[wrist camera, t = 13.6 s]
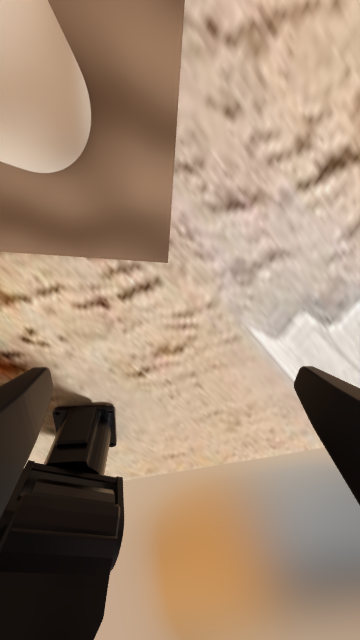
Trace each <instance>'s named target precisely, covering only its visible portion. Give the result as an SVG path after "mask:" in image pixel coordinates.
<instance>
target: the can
mask: <svg viewBox="0 0 360 640" xmlns="http://www.w3.org/2000/svg"><path fill="white" fill-rule="evenodd" d="M90 127H91V106H90V99H89V94H88V90H87V87H86V83H85V81H84V78H83V75H82V73H81V70H80V68H79V66H78V63H77V61H76V59H75V57H74V55H73V53H72V50H71V48H70V46H69V44H68V42H67V40H66V38H65V36H64V33H63V31H62V29H61V27H60V25H59V23H58V21H57V19H56V17H55V15H54V12H53V10H52V8H51V6H50V4H49V2H48V0H0V161H1V162H4V163H6V164H9V165H12V166H15V167H18V168H21V169H24V170H28V171H31V172H37V173H52V172H57V171H60V170H63V169H65V168H67V167H68V166H70V165H71V164H72V163H74V162H75V161H76V160H77V158H78V157H79V156H80V155H81V153H82V152H83V150H84V148H85V146H86V143H87V141H88V137H89V133H90Z"/></svg>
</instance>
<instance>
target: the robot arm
mask: <svg viewBox="0 0 360 640" xmlns="http://www.w3.org/2000/svg"><path fill="white" fill-rule="evenodd" d="M294 389H295V391H296V393H297V395H298V397H299V399H300V401H301V404H302V406H303V408H304V410H305V412H306V414H307V416H308V418H309V420H310V422H311V424H312V426H313V428H314V430H315V431H316V433H317V435H318V436H319V438H320V440H321V441H322V443H323V445H324V446H325V448H326V450H327V451H328V453H329V455H330V456H331V458H332V460H333V461H334V463H335V465H336V466H337V468H338V470H339V471H340V473H341V475H342V476H343V478H344V480H345V482H346V483H347V485H348V486H349V488H350V490H351V492H352V493H353V495H354V496H355V498H356V500H357V502H358V503H359V505H360V388H358V387H356V386H353V385H351V384H349V383H347V382H345V381H343V380H341V379H339V378H336V377H334V376H332V375H330V374H328V373H326V372H324V371H321V370H319V369H317V368H315V367H312V366H303V367H301V368H300V369H299V372H298V374H297V377H296V379H295V382H294ZM52 394H53V383H52V378H51V373H50V370H49V368H47V367H34V368H32V369H30V370H28V371H27V372H25V373H23V374H21V375H20V376H18V377H16V378H14V379H12V380H11V381H9V382H7V383H5V384H4V385H2V386H0V640H94V638H95V636H96V633H97V631H98V629H99V627H100V624H101V622H102V619H103V616H104V609H105V602H106V595H107V588H108V581H109V575H110V571H111V570H112V569H113V567H114V565H115V563H116V560H117V557H118V554H119V550H120V547H121V542H122V537H123V529H124V503H123V478H122V477H111V476H106V475H104V472H105V467H106V461H107V455H108V450H109V447H114V446H116V442H117V437H116V417H115V407H113V406H84V407H57V408H55V409H54V411H53V418H54V422H55V427H56V431H57V434H56V437H55V439H54V441H53V444H52V446H51V448H50V451H49V453H48V455H47V458H46V460H45V462H44V464H39V463H34V462H35V461H29V460H28V458H29V456H30V454H31V451H32V449H33V447H34V445H35V443H36V440H37V438H38V435H39V432H40V429H41V426H42V423H43V420H44V418H45V415H46V412H47V409H48V406H49V403H50V400H51V397H52ZM110 410H111V411H110ZM27 460H28V462H27ZM26 462H27V464H26ZM25 464H26V466H25ZM24 466H25V468H24Z"/></svg>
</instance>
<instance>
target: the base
mask: <svg viewBox="0 0 360 640" xmlns="http://www.w3.org/2000/svg"><path fill="white" fill-rule="evenodd" d="M48 2H49V4H50V6H51V8H52V10H53V12H54V15H55V17H56V19H57V21H58V23H59V25H60V27H61V29H62V31H63V33H64V36H65V38H66V40H67V42H68V44H69V46H70V48H71V50H72V53H73V55H74V57H75V59H76V61H77V63H78V66H79V68H80V70H81V73H82V75H83V78H84V81H85V83H86V87H87V90H88V94H89V99H90V106H91V127H90V133H89V137H88V141H87V143H86V146H85V148H84V150H83V152H82V153H81V155H80V156H79V157H78V158H77V160H76V161H75V162H74V163H72V164H71V165H70V166H68V167H67V168H65V169H63V170H60V171H57V172H52V173H37V172H31V171H28V170H24V169H21V168H18V167H15V166H12V165H9V164H6V163H4V162H1V161H0V252H15V253H30V254H45V255H60V256H74V257H89V258H104V259H119V260H134V261H149V262H163V263H168V251H169V235H170V220H171V204H172V189H173V173H174V158H175V142H176V127H177V111H178V96H179V80H180V65H181V49H182V34H183V18H184V3H185V0H48Z"/></svg>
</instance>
